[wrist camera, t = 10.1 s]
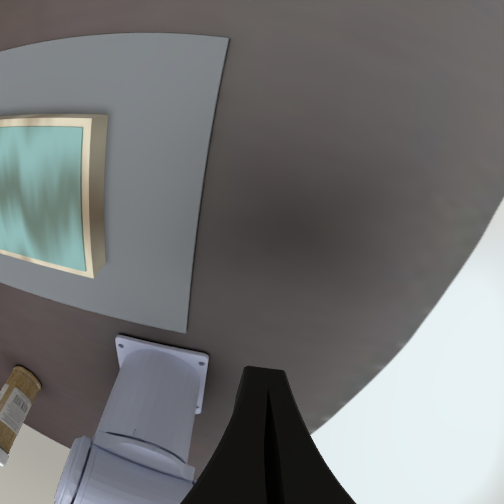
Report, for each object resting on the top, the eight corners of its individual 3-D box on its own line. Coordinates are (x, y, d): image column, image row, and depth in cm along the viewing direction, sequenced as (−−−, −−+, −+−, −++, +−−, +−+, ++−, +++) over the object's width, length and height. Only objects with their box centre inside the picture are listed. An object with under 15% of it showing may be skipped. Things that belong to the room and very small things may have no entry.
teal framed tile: (92, 279, 18) (-16, 249, 17) (105, 262, 20) (-1, 237, 19) (90, 118, 13) (-30, 122, 12) (108, 114, 15) (-10, 116, 14)
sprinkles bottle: (9, 361, 28) (-35, 438, 16) (33, 369, 28) (-12, 454, 16) (24, 383, 30) (-14, 458, 18) (47, 391, 30) (10, 472, 18)
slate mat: (186, 330, 23) (185, 333, 23) (-18, 272, 21) (-20, 274, 21) (229, 39, 13) (228, 38, 13) (-33, 62, 12) (-36, 62, 12)
